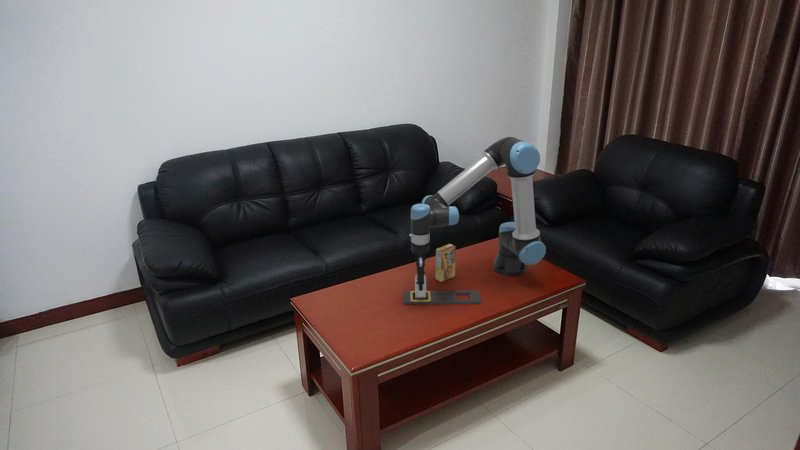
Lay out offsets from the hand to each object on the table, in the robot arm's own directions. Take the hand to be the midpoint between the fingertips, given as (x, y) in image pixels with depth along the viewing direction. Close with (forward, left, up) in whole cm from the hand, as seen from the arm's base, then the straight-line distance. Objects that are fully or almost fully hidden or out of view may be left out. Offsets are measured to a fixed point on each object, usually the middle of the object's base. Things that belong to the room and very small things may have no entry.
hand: (420, 292), depth 207 cm
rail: (-9, 0, -3) cm, 10 cm away
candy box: (-12, -19, -3) cm, 23 cm away
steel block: (0, 0, -3) cm, 3 cm away
